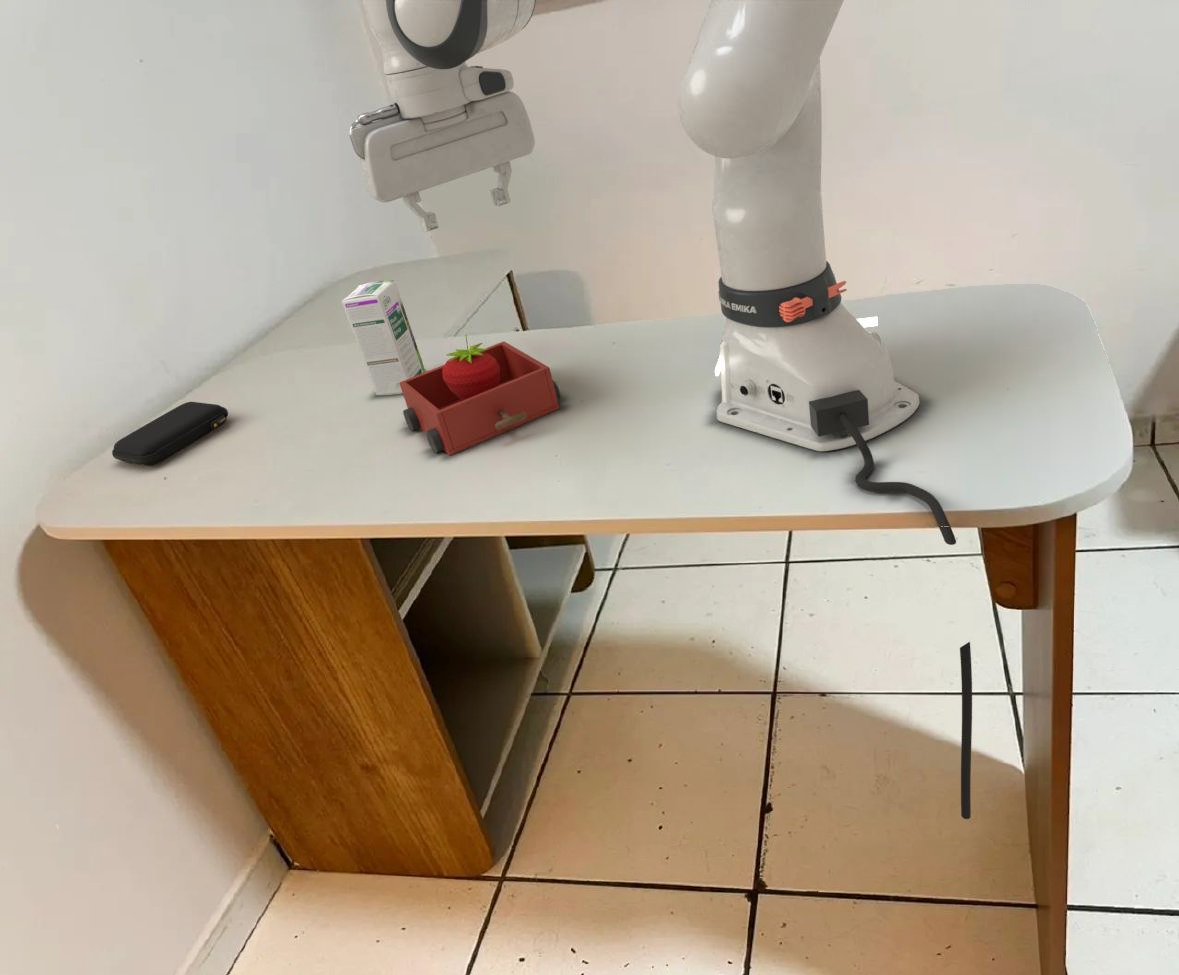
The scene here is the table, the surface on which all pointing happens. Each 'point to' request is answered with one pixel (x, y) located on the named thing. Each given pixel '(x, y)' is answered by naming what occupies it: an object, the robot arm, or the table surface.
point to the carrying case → (170, 433)
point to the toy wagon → (480, 402)
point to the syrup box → (383, 335)
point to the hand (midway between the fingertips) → (467, 216)
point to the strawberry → (471, 372)
